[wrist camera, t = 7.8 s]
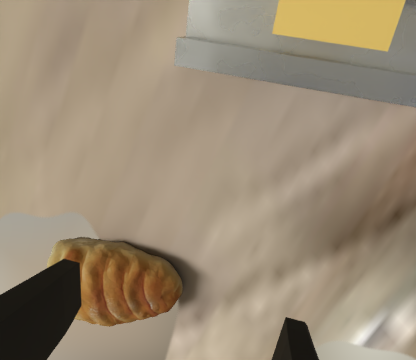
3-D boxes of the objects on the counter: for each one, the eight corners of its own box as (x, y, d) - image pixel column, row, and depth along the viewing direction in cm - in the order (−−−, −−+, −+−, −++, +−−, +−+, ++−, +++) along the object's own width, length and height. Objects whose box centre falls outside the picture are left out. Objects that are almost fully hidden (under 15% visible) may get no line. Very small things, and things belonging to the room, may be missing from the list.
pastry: (178, 234, 23) (159, 271, 19) (191, 310, 25) (176, 354, 22) (57, 231, 25) (21, 264, 22) (81, 301, 28) (53, 340, 24)
